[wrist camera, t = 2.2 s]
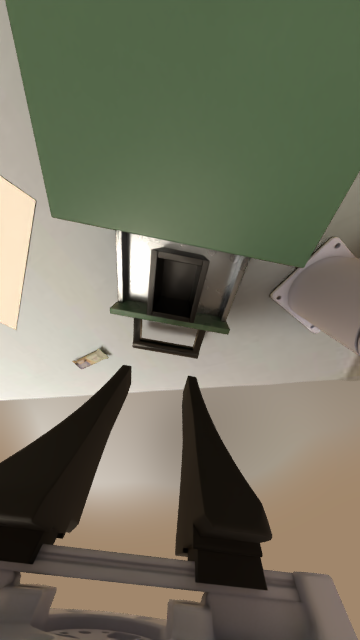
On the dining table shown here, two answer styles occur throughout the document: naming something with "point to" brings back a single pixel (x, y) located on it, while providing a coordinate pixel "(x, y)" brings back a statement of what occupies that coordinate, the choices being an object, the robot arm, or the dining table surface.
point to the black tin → (175, 283)
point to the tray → (135, 286)
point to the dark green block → (195, 117)
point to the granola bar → (90, 359)
